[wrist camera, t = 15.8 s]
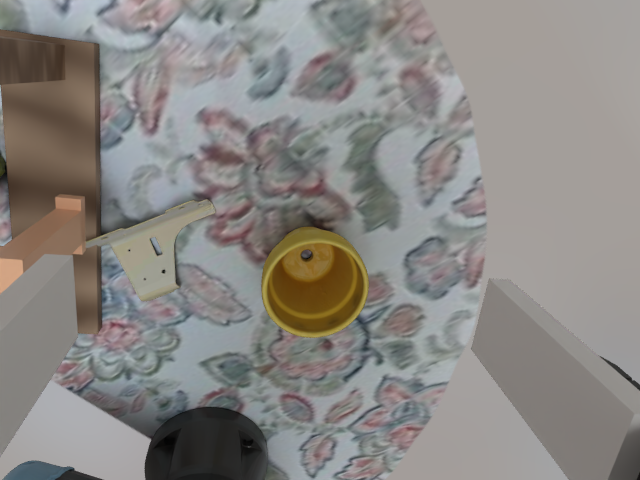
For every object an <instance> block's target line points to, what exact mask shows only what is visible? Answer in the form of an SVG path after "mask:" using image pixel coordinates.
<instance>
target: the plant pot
mask: <svg viewBox="0 0 640 480" xmlns="http://www.w3.org/2000/svg"><path fill="white" fill-rule="evenodd" d="M304 250H310V251H311V252H312V256H311V257H310V258H309V259H307V260H306V259H303V258H302V257H301V253H302V252H303V251H304ZM261 288H262V299H263V303H264V306H265V309H266V311H267V313H268V315H269V316H270V317H271V319H272V320H273V321H274V322H275V323H276V324H277V325H278V326H279V327H281V328H282V329H284V330H285V331H287V332H289V333H291V334H294V335H297V336H301V337H309V338H315V337H323V336H328V335H331V334H334V333H336V332H338V331H340V330H342V329H344V328H345V327H347V326H348V325H349V324H350V323H352V322H353V321H354V320H355V319H356V318H357V316H358V315H359V314H360V312H361V310H362V309H363V307H364V305H365V302H366V299H367V295H368V289H369V280H368V274H367V270H366V267H365V265H364V263H363V261H362V259H361V257H360V256H359V254H358V253H357V251H356V250H355V248H354V247H353V246H352V245H351V244H350V243H349V242H348V241H347V240H346V239H344V238H343V237H341V236H340V235H338V234H335V233H333V232H330V231H326V230H321V229H318V228H315V227H301V228H298V229H295V230H293V231H291V232H290V233H288V234H287V235H286V236H285V237H284V238H283V240H282V241H281V242H280V243H278V244H277V245H276V246H275V248H274V249H273V250H272V251H271V253H270V254H269V256H268V258H267V260H266V262H265V265H264V268H263V273H262V284H261Z"/></svg>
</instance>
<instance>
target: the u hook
mask: <svg viewBox="0 0 640 480" xmlns="http://www.w3.org/2000/svg"><path fill="white" fill-rule="evenodd" d="M55 203H56V209H54V210H53V211H52V212H50V213H49V214H47V215H46V216H45V217H43V218H42V219H41V220H39V221H38V222H36V223H35V224H34V225H32V226H31V227H29V228H28V229H27V230H25V231H24V232H22V233H21V234H20V235H18V236H17V237H15V238H14V239H13V240H11V241H10V242H8V243H7V244H6V245H4V246H0V294H1V293H2V292H3V291H4V290H5V289H7V288H8V287H9V286H10V285H11V284H12V283H13V282H14V281H15V280H17V279H18V278H19V277H20V276H21V275H22V274H23V273H24V272H25V271H26V270H28V269H29V268H30V267H31V266H32V265H33V264H34V263H35V262H36V261H38V260H39V259H40V258H41V257H42V256H43V255H44V254H55V255H72V254H81V255H82V254H83V253H84V252H85V251H86V235H85V197H84V196H74V195H64V194H59V195H58V196H56V197H55Z"/></svg>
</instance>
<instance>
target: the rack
mask: <svg viewBox="0 0 640 480" xmlns="http://www.w3.org/2000/svg"><path fill="white" fill-rule="evenodd" d="M0 85H1V94H2V108H3V122H4V135H5V149H6V163H7V176H8V190H9V204H10V218H11V231H12V240H13V239H14V238H15V237H17V236H18V235H20V234H21V233H22V232H24V231H25V230H27V229H28V228H29V227H31V226H32V225H34V224H35V223H36V222H38V221H39V220H41V219H42V218H43V217H45V216H46V215H47V214H49V213H50V212H52V211H53V210H54V209H56V203H55V197H56V196H58V195H59V194H64V195H74V196H84V197H85V235H86V242H87V241H89V240H92V239H94V238H97V237H99V236H101V200H100V90H99V44H95V43H88V42H81V41H75V40H68V39H61V38H54V37H48V36H41V35H34V34H27V33H21V32H14V31H7V30H0ZM72 255H73V266H74V281H75V297H76V313H77V329H78V333H84V334H98V333H99V331H100V329H101V328H102V309H101V246H98V245H94V246H92V247H89V248H86V251H85V252H84V253H83V254H82V255H81V254H72Z"/></svg>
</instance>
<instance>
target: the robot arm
mask: <svg viewBox="0 0 640 480" xmlns="http://www.w3.org/2000/svg"><path fill="white" fill-rule="evenodd" d="M77 338H78V329H77V313H76V297H75V281H74V266H73V255H55V254H44V255H43V256H42V257H41V258H40V259H39V260H38V261H36V262H35V263H34V264H33V265H32V266H31V267H30V268H29V269H28V270H26V271H25V272H24V273H23V274H22V275H21V276H20V277H19V278H18V279H17V280H15V281H14V282H13V283H12V284H11V285H10V286H9V287H8V288H7V289H5V290H4V291H3V292H2V293H1V294H0V456H1V455H2V453H3V452H4V450H5V449H6V447H7V446H8V444H9V443H10V441H11V440H12V438H13V436H14V435H15V433H16V431H17V430H18V429H19V427H20V426H21V424H22V423H23V421H24V420H25V418H26V416H27V415H28V413H29V412H30V410H31V409H32V407H33V406H34V404H35V403H36V401H37V399H38V398H39V396H40V395H41V393H42V392H43V390H44V389H45V387H46V385H47V384H48V383H49V381H50V379H51V378H52V376H53V375H54V373H55V372H56V370H57V369H58V367H59V366H60V364H61V363H62V361H63V359H64V358H65V356H66V355H67V353H68V352H69V350H70V349H71V347H72V346H73V344H74V342H75V341H76V339H77ZM471 350H472V351H473V352H474V354H475V355H476V356H477V358H478V359H479V360H480V362H481V363H482V364H483V366H484V367H485V368H486V370H487V371H488V372H489V374H490V375H491V376H492V378H493V379H494V380H495V382H496V383H497V384H498V386H499V387H500V388H501V390H502V391H503V392H504V394H505V395H506V396H507V398H508V399H509V400H510V402H511V403H512V404H513V406H514V407H515V408H516V410H517V411H518V412H519V414H520V415H521V416H522V418H523V419H524V420H525V422H526V423H527V424H528V426H529V427H530V428H531V430H532V431H533V432H534V434H535V435H536V436H537V438H538V439H539V440H540V442H541V443H542V444H543V446H544V447H545V448H546V450H547V451H548V452H549V454H550V455H551V456H552V458H553V459H554V460H555V462H556V463H557V464H558V466H559V467H560V468H561V470H562V471H563V472H564V474H565V475H566V476H567V478H568V479H569V480H640V385H639V384H638V383H637V382H636V381H632V378H631V377H630V376H629V375H628V374H626V373H625V372H624V371H623V370H622V369H620V368H619V367H618V366H617V365H615V364H613V363H611V362H610V361H608V360H606V359H604V358H602V357H601V356H599V355H597V354H596V353H595V352H594V351H593V350H591V349H590V348H589V347H588V346H587V345H586V344H584V343H583V342H582V341H581V340H580V339H579V338H577V337H576V336H575V335H574V334H573V333H572V332H570V331H569V330H568V329H567V328H566V327H564V326H563V325H562V324H561V323H560V322H559V321H558V320H556V319H555V318H554V317H553V316H552V315H551V314H549V313H548V312H547V311H546V310H545V309H543V308H542V307H541V306H540V305H539V304H538V303H537V302H535V301H534V300H533V299H532V298H531V297H530V296H528V295H527V294H526V293H525V292H524V291H523V290H521V289H520V288H519V287H518V286H517V285H515V284H514V283H513V282H512V281H511V280H503V279H489V281H488V285H487V289H486V293H485V296H484V301H483V304H482V308H481V312H480V316H479V320H478V324H477V328H476V332H475V336H474V340H473V344H472V347H471ZM266 471H267V445H266V441H265V438H264V436H263V434H262V432H261V431H260V430H259V428H258V427H257V426H256V425H255V424H254V423H253V422H252V421H250V420H249V419H248V418H246V417H244V416H243V415H241V414H239V413H236V412H233V411H230V410H226V409H220V408H200V409H194V410H190V411H187V412H184V413H181V414H179V415H177V416H175V417H173V418H171V419H170V420H168V421H167V422H166V423H165V424H163V425H162V426H161V427H160V428H159V429H158V431H157V432H156V433H155V435H154V436H153V438H152V440H151V442H150V445H149V449H148V452H147V456H146V460H145V478H146V480H264V478H265V475H266ZM3 480H102V479H99V478H96V477H93V476H90V475H87V474H83V473H80V472H77V471H74V468H72V467H60V466H56V465H52V464H49V463H45V462H41V461H28V462H25V463H22V464H20V465H18V466H17V467H16V468H14V469H13V470H12V471H10V473H8V475H6V476H5V477H4V479H3Z"/></svg>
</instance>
